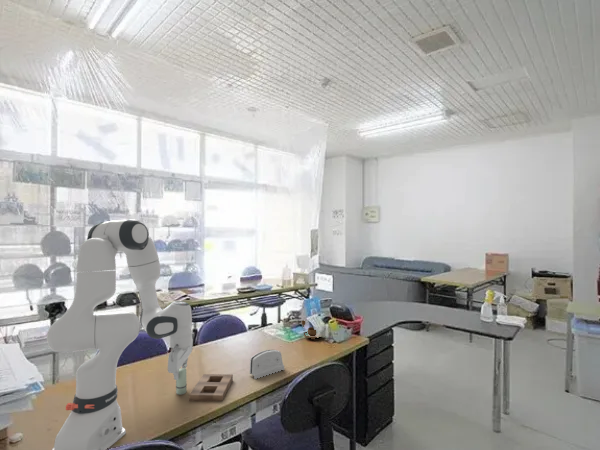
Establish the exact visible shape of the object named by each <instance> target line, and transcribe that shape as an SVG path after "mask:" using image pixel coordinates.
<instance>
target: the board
mask: <svg viewBox="0 0 600 450" xmlns="http://www.w3.org/2000/svg"><path fill="white" fill-rule="evenodd" d="M233 376H234V375H233V374H227V373H226V374H223V373H221V374H219V373H218V374H216V373H215V374H211V373H208V374H207V373H204V374H202V376H201V377H200V379H199V380H198V381H197V383H196V384H195V385H194V387H193V389H192V390H191V392H190V393H189V394H188V402H190V401H191V402H201V401H202V402H222V401H223V400H224V399H225V396H226V395H227V392H228V390H229V389H230V387H231V385H232V382H233V379H234V377H233Z"/></svg>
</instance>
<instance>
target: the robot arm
mask: <svg viewBox="0 0 600 450" xmlns="http://www.w3.org/2000/svg"><path fill="white" fill-rule="evenodd" d="M149 234H150V233H149V229H148V227H147V225H146V224H145V223H144V222H143V221H141V220H138V219H134V218H133V219H121V220H120V219H115V220H110V221H109V220H108V221H103V222H98V223H96V224H95V225H93V226H91V228H90V229H89V231H88V234H87V238H86V240H85V241H83V242H82V243H81V245H80V247H79V252H78V257H77V262H76V263H77V264H76V284H75V286H76V287H75V293H74V299H73V301H72V303H71V305H70V307H69V308H68V309H67V310H66V312H65V313H64V314H63V315H62V316H61V317H59V318H58V319H57V320H55V321H54V322H53V323H52V324H51V325H50V327H49V329H48V331H47V333H46V342H47V345H48V347H49V348H50V349H51V351H53V352H54V353H76V352H82V351H89V350H98V352H97V354H96V355H94V356H93V357H91V358H89V359H87V360H86V361H84V362H83V363H82V364H81V365H79V367H78V368H77V370H76V373H75V394H74V397H73V399H72V402H68V403H67V404H66V406H65V410H66V411H70V413H69V415H68V417H67V418H66V420H65V421H64V423H63V425H62V426H61V428H60V430H59V431H58V433H57V434H56V436H55V440H54V445H53V448H52V449H51V450H108V449H109V448H110V447H112V445H114V444H115V443H116V442H118V441H119V440H120V439H121V438H122V437H123V436H125V435H126V434H127V432H126V429H125V427H123V419H122V409H121V406H120V405H119V403H118V400H117V398H118V393H119V390H118V386H117V384H116V383H117V381H116V379H117V370H118V369H117V368H118V362H119V360H120V357H121V355H122V354H123V352H124V350H125V349H126V348H127V347H128V346H129V345H130V344H131V343H133V341H135V340H136V338H137V337H138V336H139V334H140V331H141V327H142V328H143V329H144V330H145V333H146V334H147V336H148V337H150V338H151V339H155V340H160V339H164V338H167V337H168V338H169V339H168V341H169V342H168V346H169V347H170V348H172V349H171V351H170V352H169V354H168V357H167V373H169V374H173V379H174V380H175V381H176V380H178V379H179V377H180V374H179V369H181V368H185V369H187V366H188V360H189V356H190V355H191V354H192V352H193V346H194V338H195V332H193V330H192V323H193V315H192V307H191V305H190V303H188V302H187V301H182V300H181V301H180V300H175V301H172V302H171V303H170V304H169V305H168V306H166V307H164V308H163V307H161V306H160V304H159V301H158V300H159V299H158V294H157V289H156V283H157V281H158V280H159V278H160V276H161V263H160V257H159V255H158V252H157V247H156V246H155V243H154V241H153V239H152V237H151V236H150V235H149ZM118 252H123V253H124V254H125V257H126V263H127V267H128V272H129V274H130V277H131V279H132V281H133V283H134V284H135V286H136V288H137V290H138V294H139V299H140V303H141V313H140V318H139V317H138V315H137V314H135V313H134V312H129V311H114V312H113V311H111V312H101V313H94V311H95V308H96V307H97V306H98V305H101V304H103V303H105V302H107V301H109V300H110V299H111V298H112V297H113V296H114V295H115V293H116V291H117V289H116V287H117V286H116V285H117V284H116V283H117V281H116V280H117V278H116V275H117V273H116V270H117V269H116V267H117V266H116V265H117V263H116V255H117V253H118ZM107 448H108V449H107Z"/></svg>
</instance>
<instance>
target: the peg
mask: <svg viewBox="0 0 600 450" xmlns="http://www.w3.org/2000/svg"><path fill="white" fill-rule="evenodd" d="M179 374H180V377H179V379H178V380H175V389H176V390H175V393H176V395H182V396H183V395H185V394H186V393H187V391H188V390H187V385H188V384H187V368H182V367H181V368H180V369H179Z"/></svg>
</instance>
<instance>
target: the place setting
mask: <svg viewBox="0 0 600 450" xmlns="http://www.w3.org/2000/svg"><path fill="white" fill-rule="evenodd" d="M301 325H302V328H303V327H304V328H305V326H306V320H305V321H304V319H303V320H301ZM313 327H314V326H312V327H311V326H310V327H308V328H307V331H305V332H304V333H303V336H304V337H305V338H306V337H307V339H308V338H311V339H310V340H316V339H315V338H317V337H309V336H306V335H305V333H307V332H308V334H309V335H310V336H315V335H316V330H314V329H313Z"/></svg>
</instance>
